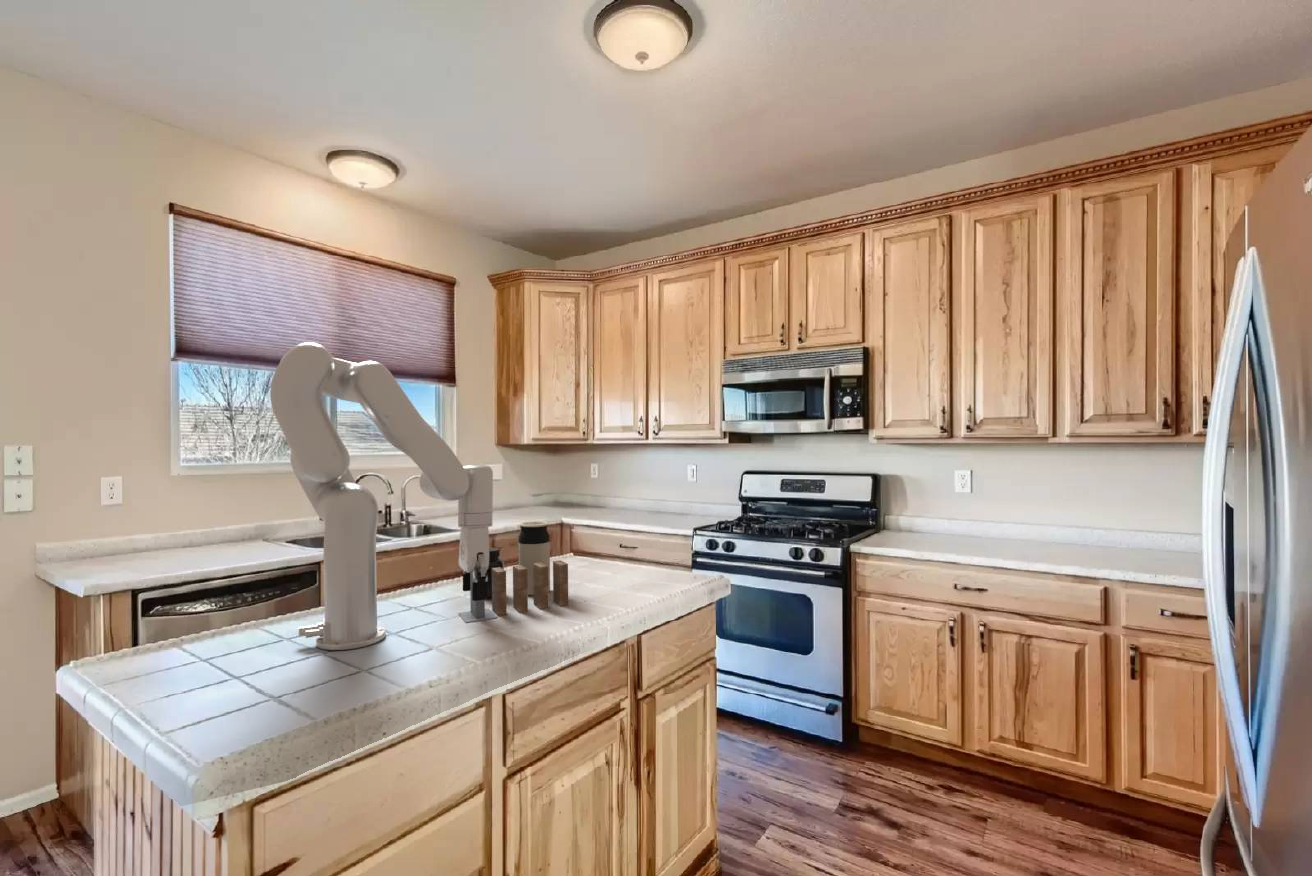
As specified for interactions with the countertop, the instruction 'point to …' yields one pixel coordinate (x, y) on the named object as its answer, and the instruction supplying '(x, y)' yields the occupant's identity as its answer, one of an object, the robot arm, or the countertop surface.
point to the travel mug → (534, 549)
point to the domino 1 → (476, 602)
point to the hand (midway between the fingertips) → (474, 595)
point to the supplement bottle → (493, 563)
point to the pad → (470, 618)
